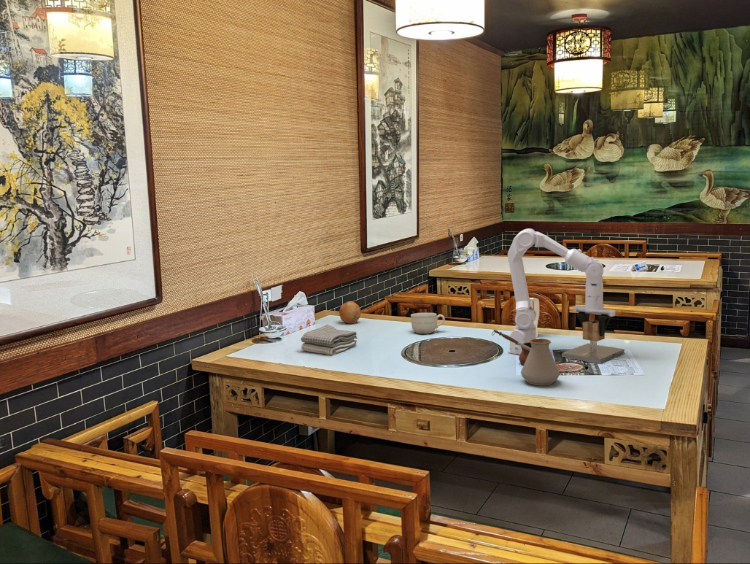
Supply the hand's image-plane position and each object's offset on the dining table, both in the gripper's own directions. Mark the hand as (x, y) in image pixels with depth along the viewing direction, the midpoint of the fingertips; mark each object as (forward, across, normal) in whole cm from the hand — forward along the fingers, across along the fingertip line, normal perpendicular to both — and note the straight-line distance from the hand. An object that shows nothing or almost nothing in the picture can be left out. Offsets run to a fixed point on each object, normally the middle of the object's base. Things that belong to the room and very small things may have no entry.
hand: (593, 334), depth 233 cm
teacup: (+8, +70, +7) cm, 71 cm away
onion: (+8, +111, +13) cm, 112 cm away
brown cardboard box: (+2, 0, 0) cm, 2 cm away
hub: (+7, 0, 0) cm, 7 cm away
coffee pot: (+8, +2, +40) cm, 41 cm away
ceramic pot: (+8, +10, +23) cm, 26 cm away
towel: (+8, +81, +51) cm, 96 cm away
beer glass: (+8, +33, -12) cm, 36 cm away
